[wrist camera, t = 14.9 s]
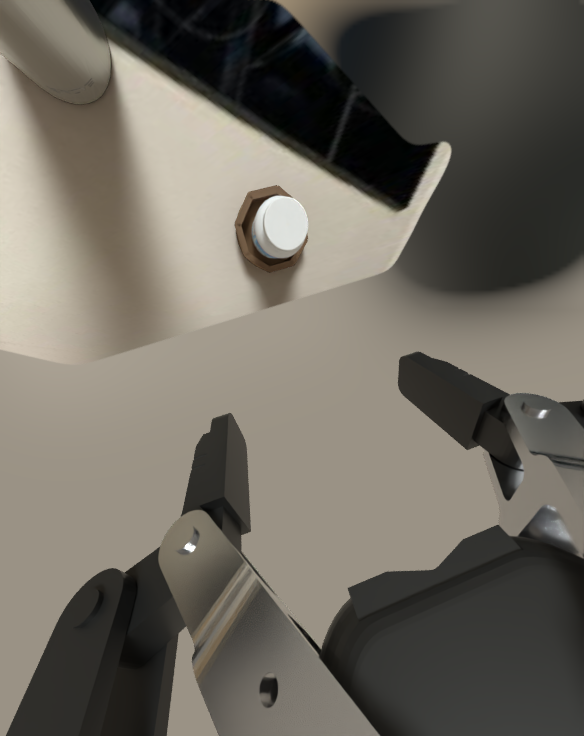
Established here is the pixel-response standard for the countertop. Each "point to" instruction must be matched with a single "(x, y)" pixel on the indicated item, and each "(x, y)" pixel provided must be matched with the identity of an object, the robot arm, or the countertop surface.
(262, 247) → the pill bottle
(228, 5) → the countertop surface
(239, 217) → the bowl
